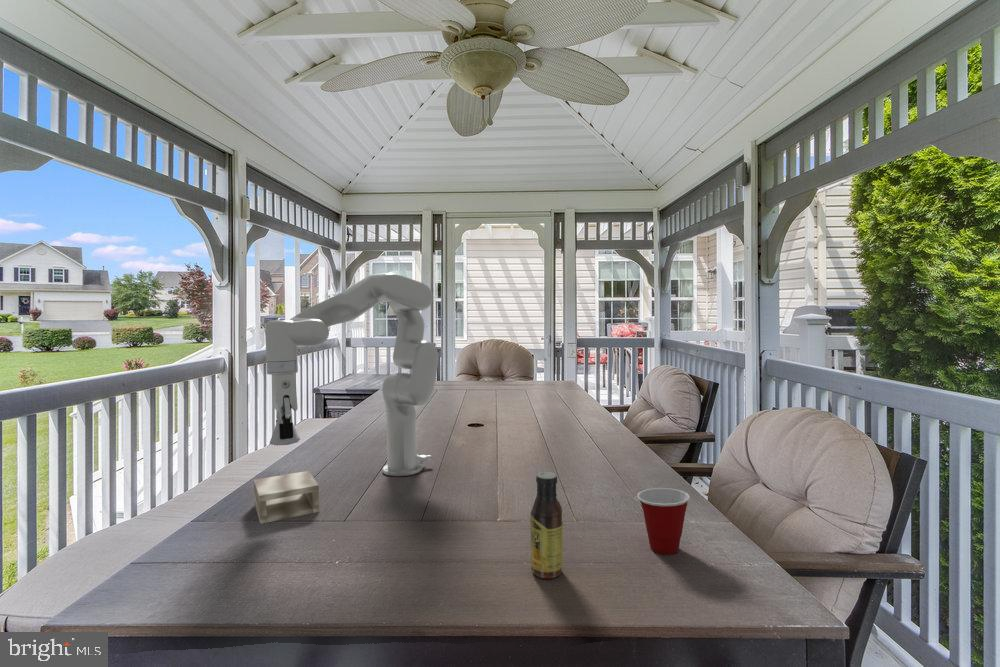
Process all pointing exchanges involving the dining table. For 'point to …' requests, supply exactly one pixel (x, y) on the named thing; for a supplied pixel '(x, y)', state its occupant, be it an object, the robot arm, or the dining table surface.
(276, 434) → the flask
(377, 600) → the dining table surface
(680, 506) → the plastic cup
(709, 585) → the dining table surface
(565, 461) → the dining table surface
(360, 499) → the dining table surface
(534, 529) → the sauce bottle
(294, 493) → the grooved beige box
